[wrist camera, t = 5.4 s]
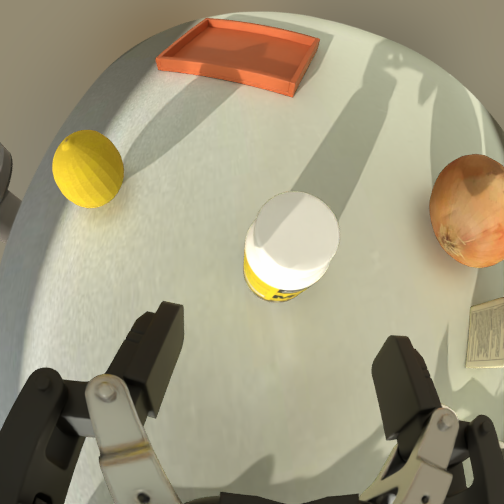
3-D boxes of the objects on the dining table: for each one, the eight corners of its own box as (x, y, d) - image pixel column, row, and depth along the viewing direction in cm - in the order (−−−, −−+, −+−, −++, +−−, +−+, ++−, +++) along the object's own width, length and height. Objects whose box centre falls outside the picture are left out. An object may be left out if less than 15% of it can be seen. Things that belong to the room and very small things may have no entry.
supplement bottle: (267, 316, 19) (286, 303, 11) (230, 262, 20) (223, 215, 12) (320, 279, 20) (366, 243, 12) (283, 229, 21) (306, 168, 13)
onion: (485, 234, 22) (545, 197, 13) (457, 300, 20) (537, 275, 10) (432, 171, 24) (484, 116, 14) (394, 226, 22) (463, 167, 12)
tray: (158, 70, 27) (155, 58, 25) (207, 27, 31) (206, 17, 29) (292, 97, 26) (295, 83, 24) (317, 49, 30) (320, 38, 28)
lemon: (121, 228, 21) (73, 179, 13) (74, 215, 21) (24, 171, 13) (145, 172, 22) (114, 110, 15) (99, 165, 23) (62, 111, 15)
